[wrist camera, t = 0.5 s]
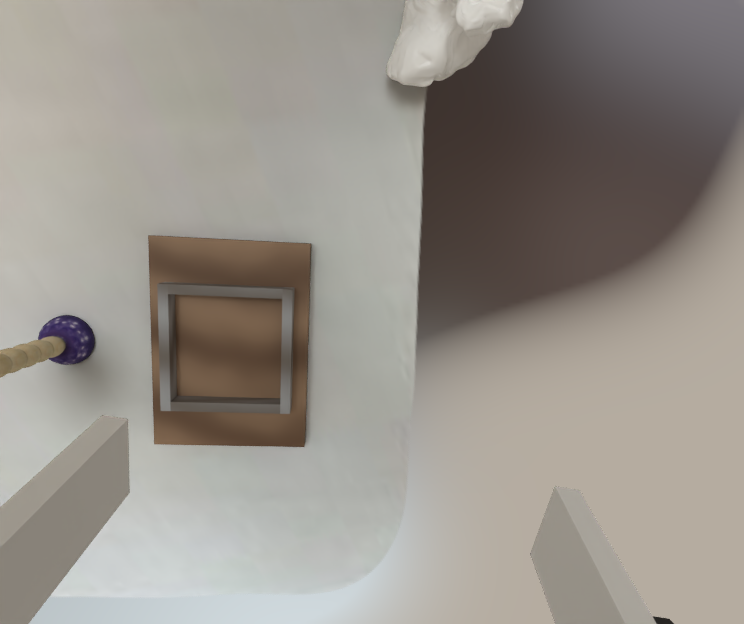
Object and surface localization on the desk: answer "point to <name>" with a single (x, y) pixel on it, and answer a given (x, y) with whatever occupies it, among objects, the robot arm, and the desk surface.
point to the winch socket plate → (229, 341)
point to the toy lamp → (51, 345)
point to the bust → (445, 37)
